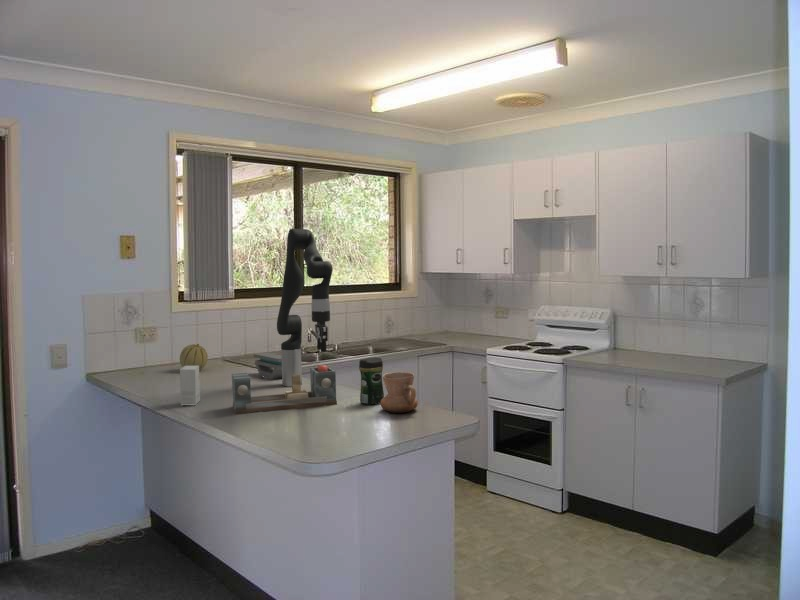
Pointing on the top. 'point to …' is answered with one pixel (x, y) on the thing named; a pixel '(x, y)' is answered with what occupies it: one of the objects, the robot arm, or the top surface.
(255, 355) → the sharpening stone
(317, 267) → the robot arm
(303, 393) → the carriage
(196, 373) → the skincare box
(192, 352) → the cantaloupe
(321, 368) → the button
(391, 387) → the ceramic jug
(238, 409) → the rail track
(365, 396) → the coffee jar
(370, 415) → the top surface
